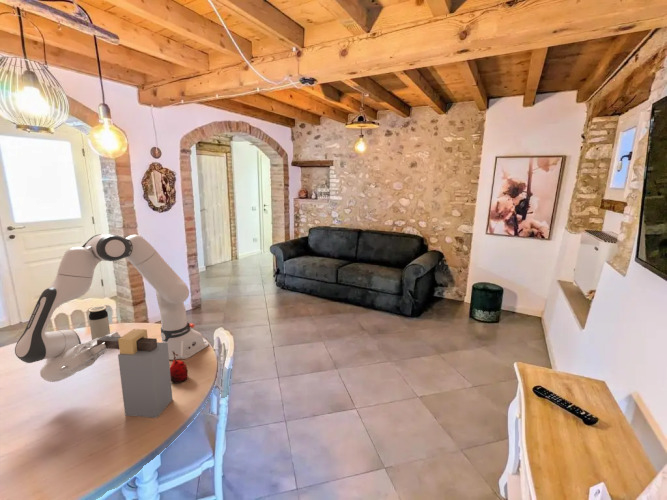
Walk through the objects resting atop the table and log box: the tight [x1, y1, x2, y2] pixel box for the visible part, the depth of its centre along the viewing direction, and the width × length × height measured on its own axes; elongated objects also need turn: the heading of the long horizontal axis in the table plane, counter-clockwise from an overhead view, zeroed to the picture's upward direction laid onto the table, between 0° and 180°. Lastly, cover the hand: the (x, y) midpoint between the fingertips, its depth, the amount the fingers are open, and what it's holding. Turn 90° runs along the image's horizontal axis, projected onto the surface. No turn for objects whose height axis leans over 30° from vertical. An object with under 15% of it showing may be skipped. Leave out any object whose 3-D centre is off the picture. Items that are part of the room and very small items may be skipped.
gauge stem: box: [97, 336, 158, 351], centre depth 116 cm, size 20×4×3 cm, turn 86°
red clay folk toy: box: [170, 351, 189, 384], centre depth 137 cm, size 8×7×15 cm
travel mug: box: [88, 305, 111, 340], centre depth 168 cm, size 8×8×18 cm
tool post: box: [117, 328, 173, 419], centre depth 118 cm, size 12×10×30 cm
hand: (110, 341), depth 117 cm, fingers closed on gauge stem, 3 cm apart
